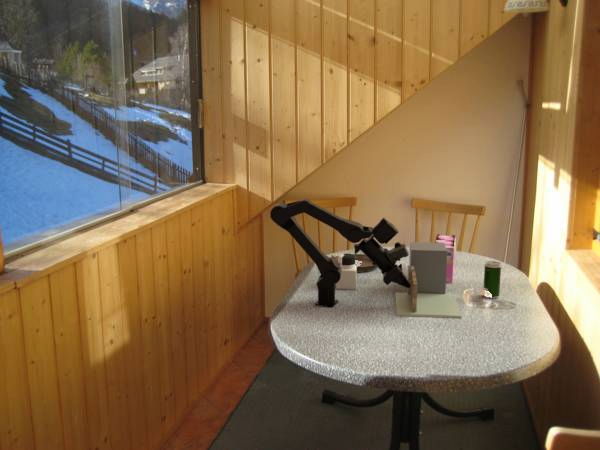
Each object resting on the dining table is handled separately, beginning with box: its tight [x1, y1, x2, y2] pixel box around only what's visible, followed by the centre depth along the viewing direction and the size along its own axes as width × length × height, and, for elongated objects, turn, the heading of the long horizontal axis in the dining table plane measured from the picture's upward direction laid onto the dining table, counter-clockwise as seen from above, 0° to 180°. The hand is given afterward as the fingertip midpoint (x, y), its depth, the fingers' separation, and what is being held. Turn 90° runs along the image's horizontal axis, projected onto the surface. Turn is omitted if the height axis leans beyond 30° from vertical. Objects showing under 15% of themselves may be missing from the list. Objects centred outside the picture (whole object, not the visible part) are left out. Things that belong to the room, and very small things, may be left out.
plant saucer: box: [334, 253, 378, 273], centre depth 257 cm, size 21×21×3 cm
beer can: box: [482, 260, 502, 300], centre depth 218 cm, size 5×5×12 cm
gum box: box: [434, 233, 457, 284], centre depth 245 cm, size 24×8×14 cm, turn 165°
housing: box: [395, 241, 463, 319], centre depth 214 cm, size 34×20×16 cm, turn 172°
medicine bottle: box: [335, 253, 358, 290], centre depth 230 cm, size 7×7×12 cm
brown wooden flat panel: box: [410, 269, 417, 311], centre depth 209 cm, size 18×1×9 cm, turn 172°
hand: (409, 286), depth 208 cm, fingers closed
